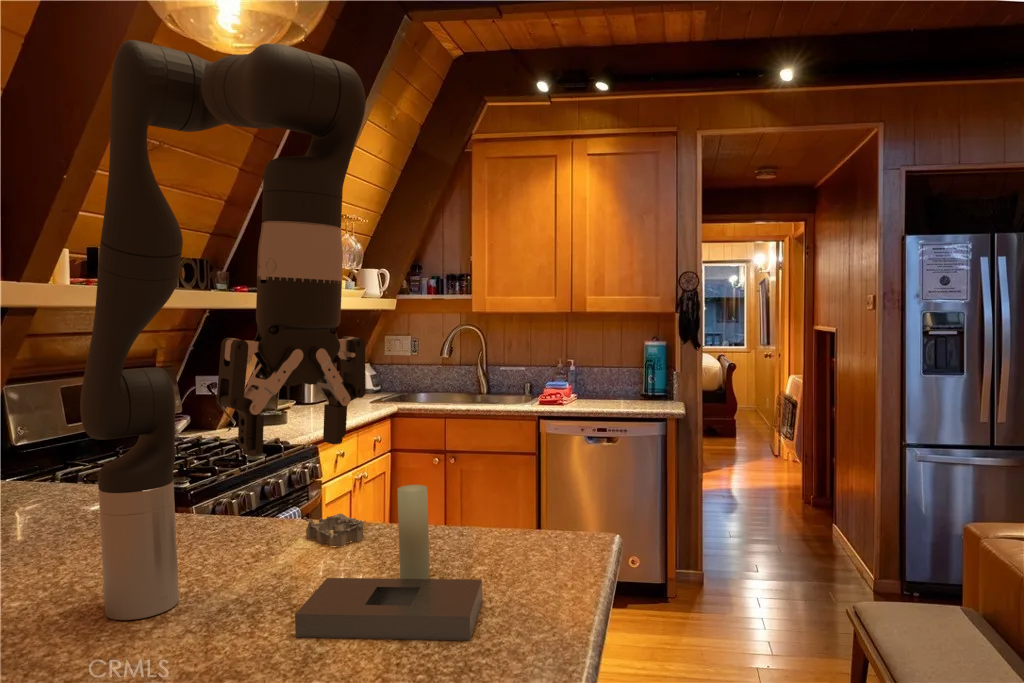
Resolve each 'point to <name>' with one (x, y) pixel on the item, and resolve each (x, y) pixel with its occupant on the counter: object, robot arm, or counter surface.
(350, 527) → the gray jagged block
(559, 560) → the counter surface
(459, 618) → the brown block with hole
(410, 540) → the peg
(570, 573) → the counter surface
